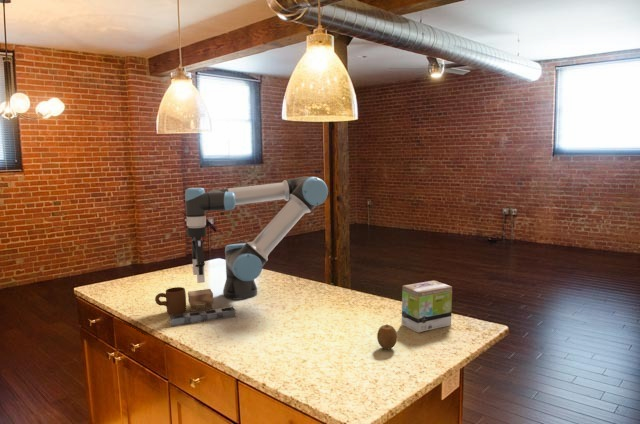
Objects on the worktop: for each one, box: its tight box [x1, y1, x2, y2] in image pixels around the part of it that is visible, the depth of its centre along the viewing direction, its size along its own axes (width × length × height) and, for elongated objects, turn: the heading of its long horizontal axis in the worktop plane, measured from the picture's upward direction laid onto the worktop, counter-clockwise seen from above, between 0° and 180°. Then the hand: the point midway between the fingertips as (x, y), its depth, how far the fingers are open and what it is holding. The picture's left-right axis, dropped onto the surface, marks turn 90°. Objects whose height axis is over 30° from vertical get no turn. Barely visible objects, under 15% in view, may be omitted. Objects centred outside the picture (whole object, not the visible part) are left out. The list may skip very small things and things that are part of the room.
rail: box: [169, 306, 237, 327], centre depth 180 cm, size 24×5×3 cm, turn 112°
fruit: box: [376, 324, 398, 350], centre depth 149 cm, size 6×6×8 cm
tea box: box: [401, 280, 453, 334], centre depth 168 cm, size 15×10×15 cm
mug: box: [154, 286, 187, 316], centre depth 187 cm, size 12×8×9 cm, turn 128°
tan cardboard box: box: [187, 288, 214, 312], centre depth 192 cm, size 9×7×7 cm
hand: (198, 278), depth 191 cm, fingers open, 13 cm apart
